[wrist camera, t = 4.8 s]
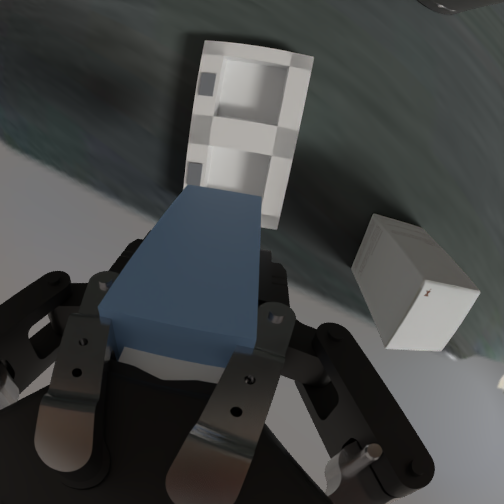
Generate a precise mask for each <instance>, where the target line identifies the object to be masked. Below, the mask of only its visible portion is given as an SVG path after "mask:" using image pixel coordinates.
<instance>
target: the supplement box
mask: <svg viewBox="0 0 504 504" xmlns="http://www.w3.org/2000/svg"><path fill="white" fill-rule="evenodd" d="M351 270H352V272H353V274H354V276H355V279H356V281H357V283H358V285H359V287H360V290H361V292H362V294H363V296H364V299H365V301H366V303H367V305H368V308H369V310H370V313H371V315H372V317H373V320H374V322H375V325H376V327H377V329H378V332H379V334H380V337H381V339H382V342H383V344H384V347H385V348H386V349H401V350H422V351H441V350H442V349H443V348H444V347H445V345H446V344H447V343H448V341H449V340H450V339H451V337H452V336H453V334H454V333H455V332H456V330H457V329H458V327H459V326H460V324H461V323H462V321H463V320H464V318H465V317H466V315H467V313H468V312H469V310H470V309H471V307H472V305H473V304H474V302H475V301H476V299H477V297H478V296H479V294H480V290H479V289H478V288H477V287H476V285H475V284H474V283H473V282H472V281H471V279H470V278H469V277H468V276H467V275H466V274H465V272H464V271H463V270H462V269H461V268H460V267H459V266H458V265H457V264H456V262H455V261H454V260H453V259H452V258H451V257H450V256H449V255H448V254H447V253H446V252H445V251H444V250H443V249H442V248H441V247H440V246H439V244H438V243H437V242H436V241H435V240H434V239H433V238H432V237H431V236H430V235H429V234H428V233H427V232H426V231H425V230H424V229H423V228H421V227H418V226H415V225H412V224H408V223H405V222H402V221H398V220H395V219H392V218H388V217H385V216H381V215H378V214H373V215H372V217H371V220H370V222H369V225H368V228H367V230H366V233H365V235H364V238H363V240H362V243H361V245H360V248H359V250H358V252H357V255H356V257H355V260H354V262H353V265H352V267H351Z"/></svg>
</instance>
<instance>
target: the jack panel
mask: <svg viewBox="0 0 504 504" xmlns="http://www.w3.org/2000/svg"><path fill="white" fill-rule="evenodd" d="M313 60H314V57H311V56H307V55H303V54H298V53H294V52H289V51H284V50H278V49H273V48H267V47H261V46H254V45H247V44H239V43H231V42H220V41H207V40H205V42H204V47H203V52H202V57H201V63H200V68H199V74H198V80H197V86H196V92H195V98H194V105H193V112H192V119H191V126H190V133H189V141H188V150H187V158H186V167H185V177H184V188H183V190H184V189H185V187H186V186H187V185H195V186H201V187H208V188H214V189H220V190H226V191H232V192H238V193H244V194H250V195H255V196H261V197H262V204H261V227H263V228H269V229H275V230H277V227H278V223H279V218H280V214H281V210H282V205H283V201H284V196H285V192H286V187H287V183H288V178H289V174H290V169H291V165H292V160H293V156H294V151H295V147H296V142H297V137H298V133H299V128H300V123H301V118H302V114H303V109H304V104H305V99H306V94H307V90H308V85H309V80H310V75H311V70H312V65H313Z"/></svg>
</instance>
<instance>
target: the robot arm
mask: <svg viewBox="0 0 504 504" xmlns="http://www.w3.org/2000/svg"><path fill="white" fill-rule="evenodd" d="M418 1H419V2H421V3H422V4H423V5H425V6H426V7H428V8H430V9H431V10H433V11H436V12H438V13H441V14H446V15H452V14H456V13H460V12H464V11H467V10H471V9H476V8H480V7H484V6H488V5H493V4H498V3H503V2H504V0H418ZM150 231H151V230H150ZM150 231H149V233H150ZM149 233H148V234H149ZM148 234H147V235H148ZM147 235H146V237H147ZM146 237H145V238H146ZM145 238H144V239H145ZM144 239H143V240H142V239H137V240H135V241H133V242H132V243H130V244H129V245H128V246H127V247H126V249H125V251H123V253H122V254H121V256H119V258H118V259H117V260H116V262H115V263H114V264H113V265H112V267H111V268H110V270H109V271H103V272H99V273H97V274H95V275H93V276H92V277H91V278H90V280H89V282H88V283H71V280H70V276H69V275H68V274H67V273H65V272H63V271H53V272H49V273H47V274H45V275H44V276H42V277H41V278H39V279H38V280H36V281H35V282H33V283H32V284H30V285H29V286H27V287H26V288H24V289H23V290H21V291H20V292H18V293H17V294H15V295H14V296H13V297H11V298H10V299H8V300H7V301H5V302H4V303H3V304H1V305H0V504H389V503H392V502H394V501H396V500H398V499H401V498H402V497H405V496H407V495H409V494H411V493H413V492H415V491H417V490H419V489H421V488H423V487H425V486H426V485H428V484H429V483H430V481H431V480H432V478H433V476H434V471H435V466H434V462H433V459H432V457H431V456H430V454H429V452H428V451H427V449H426V448H425V446H424V444H423V443H422V441H421V440H420V438H419V436H418V435H417V433H416V431H415V430H414V429H413V427H412V425H411V424H410V422H409V421H408V419H407V417H406V416H405V414H404V413H403V411H402V409H401V408H400V407H399V405H398V403H397V402H396V400H395V399H394V397H393V396H392V394H391V393H390V391H389V390H388V388H387V387H386V385H385V383H384V382H383V380H382V379H381V378H380V376H379V374H378V373H377V372H376V370H375V369H374V367H373V365H372V364H371V362H370V361H369V360H368V358H367V357H366V355H365V354H364V352H363V351H362V349H361V348H360V346H359V345H358V343H357V342H356V340H355V339H354V338H353V336H352V335H351V333H350V332H349V331H348V330H347V329H346V328H345V327H343V326H341V325H339V324H336V323H324V324H321V325H320V326H319V327H318V328H317V329H314V328H312V327H309V326H307V325H304V324H302V323H301V322H299V321H298V320H296V316H295V313H294V312H293V310H292V309H291V308H290V304H289V294H288V286H287V285H288V283H287V274H286V270H285V269H284V267H283V266H282V265H281V264H279V263H273V262H271V251H268V250H263V249H260V262H259V289H258V315H257V339H256V343H255V347H254V348H249V347H244V346H239V345H237V346H236V348H235V350H234V352H233V354H232V356H231V358H230V360H229V362H228V364H227V366H226V368H225V370H224V372H223V374H222V376H221V378H220V380H219V382H218V384H217V383H211V382H205V381H200V380H162V379H159V378H157V377H155V376H153V375H151V374H149V373H147V372H145V371H143V370H141V369H140V368H138V367H136V366H133V365H130V364H126V363H122V362H119V361H118V360H119V358H120V356H119V352H118V348H117V343H116V339H115V334H114V329H113V324H112V319H111V318H106V317H101V316H100V315H99V311H98V306H99V304H100V303H101V301H102V299H103V298H104V296H105V295H106V293H107V292H108V290H109V289H110V287H111V286H112V284H113V283H114V281H115V280H116V279H117V277H118V276H119V274H120V273H121V271H122V270H123V268H124V267H125V266H126V264H127V263H128V261H129V260H130V259H131V257H132V256H133V254H134V253H135V252H136V250H137V249H138V248H139V246H140V245H141V243H142V242H143V241H144ZM47 314H48V316H49V319H50V323H48V324H47V325H46V326H45V327H43V328H42V329H41V330H40V331H38V332H37V333H36V334H35V335H33V336H32V337H31V338H30V339H29V338H28V332H29V330H30V328H31V327H32V326H33V325H34V324H35V323H37V322H38V321H39V320H40V319H42V318H43V317H44V316H46V315H47ZM53 362H55V365H54V369H53V373H52V377H51V382H50V385H48V386H46V387H44V388H42V389H40V390H39V391H36V392H35V393H32V394H30V395H28V396H26V397H25V398H22V399H21V400H19V401H18V398H19V394H20V393H21V392H22V391H23V390H24V389H25V388H26V387H28V386H29V384H31V383H32V382H33V381H34V380H35V379H36V378H37V377H38V376H39V375H40V374H41V373H43V372H44V371H45V370H46V369H47V368H48V367H49V366H50V365H51V364H52V363H53ZM280 375H282V376H285V377H288V378H290V379H293V380H295V384H296V386H297V389H298V390H299V393H300V395H301V397H302V399H303V401H304V403H305V406H306V408H307V410H308V412H309V414H310V416H311V418H312V420H313V422H314V424H315V427H316V429H317V431H318V433H319V435H320V437H321V439H322V441H323V443H324V445H325V447H326V450H327V452H328V454H329V456H330V458H331V459H330V460H329V461H328V463H327V465H326V467H325V477H326V481H327V489H326V492H325V493H324V492H323V491H322V490H321V489H320V487H319V486H318V485H317V484H316V483H315V482H314V481H313V480H312V479H311V478H310V476H309V475H308V474H307V473H306V472H305V471H304V470H303V469H302V467H301V466H300V465H299V464H298V463H297V462H296V461H295V460H294V458H293V457H292V456H291V455H290V453H288V451H287V450H286V449H285V448H284V446H283V445H282V444H281V443H280V441H279V440H278V439H277V438H276V436H275V435H274V434H273V433H272V432H271V430H270V429H269V428H268V426H267V425H266V424H265V420H266V417H267V414H268V411H269V408H270V406H271V403H272V400H273V396H274V393H275V390H276V387H277V384H278V381H279V378H280Z"/></svg>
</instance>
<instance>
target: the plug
mask: <svg viewBox="0 0 504 504" xmlns="http://www.w3.org/2000/svg"><path fill="white" fill-rule="evenodd" d="M261 204H262V197H261V196H255V195H250V194H244V193H238V192H232V191H226V190H220V189H214V188H208V187H201V186H195V185H187V186H186V187H185V189H184V190H183V191H182V192H181V193H180V195H179V196H178V197H177V198H176V199H175V201H174V202H173V203H172V204H171V206H170V207H169V208H168V209H167V211H166V212H165V213H164V215H163V216H162V217H161V218H160V220H159V221H158V222H157V224H156V225H155V226H154V227H153V229H152V230H151V231H150V233H149V234H148V235H147V237H146V238H145V239H144V241H143V242H142V243H141V245H140V246H139V248H138V249H137V250H136V252H135V253H134V254H133V256H132V257H131V259H130V260H129V261H128V263H127V264H126V266H125V267H124V268H123V270H122V271H121V273H120V274H119V276H118V277H117V279H116V280H115V281H114V283H113V284H112V286H111V287H110V289H109V290H108V292H107V293H106V295H105V296H104V298H103V299H102V301H101V303H100V304H99V306H98V311H99V315H100V316H101V317H106V318H111V319H112V324H113V329H114V334H115V339H116V343H117V348H118V352H119V356H120V358H119V360H118V361H119V362H122V363H126V364H130V365H133V366H136V367H138V368H140V369H141V370H143V371H145V372H147V373H149V374H151V375H153V376H155V377H157V378H159V379H162V380H200V381H205V382H211V383H217V384H218V382H219V380H220V378H221V376H222V374H223V372H224V370H225V368H226V366H227V364H228V362H229V360H230V358H231V356H232V354H233V352H234V350H235V348H236V346H237V345H239V346H244V347H249V348H254V347H255V343H256V339H257V315H258V289H259V262H260V234H261Z"/></svg>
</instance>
